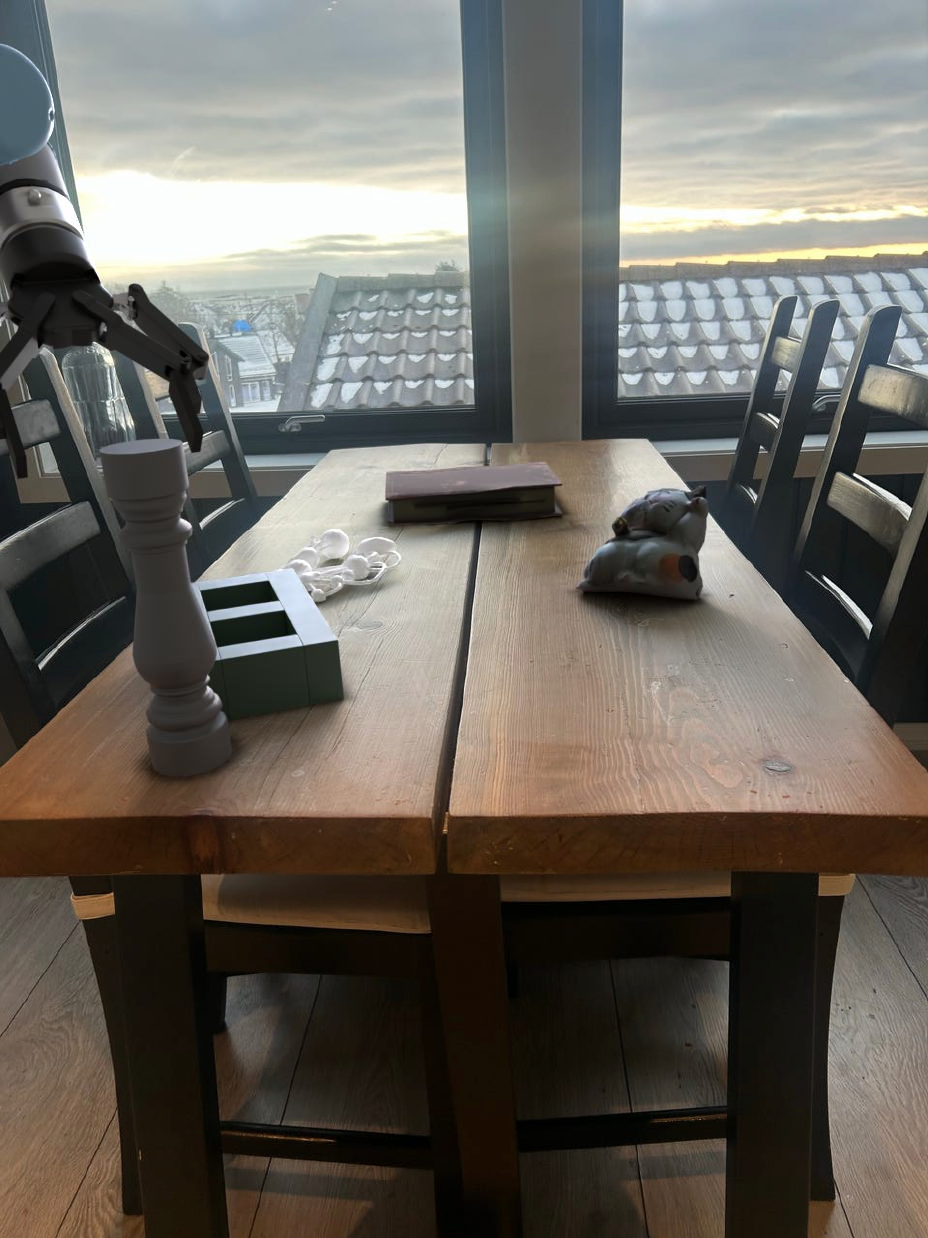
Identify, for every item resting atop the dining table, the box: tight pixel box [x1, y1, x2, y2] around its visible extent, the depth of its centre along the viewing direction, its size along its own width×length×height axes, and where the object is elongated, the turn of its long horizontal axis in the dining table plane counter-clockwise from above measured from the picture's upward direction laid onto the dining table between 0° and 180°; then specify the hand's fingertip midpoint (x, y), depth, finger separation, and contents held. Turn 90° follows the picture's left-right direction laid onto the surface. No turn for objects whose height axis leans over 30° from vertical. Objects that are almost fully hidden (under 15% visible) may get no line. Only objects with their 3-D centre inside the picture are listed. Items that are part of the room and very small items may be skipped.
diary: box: [384, 461, 564, 526], centre depth 149 cm, size 19×25×5 cm
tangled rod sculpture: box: [275, 528, 403, 603], centre depth 119 cm, size 19×14×4 cm
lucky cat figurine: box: [574, 484, 710, 603], centre depth 108 cm, size 15×12×14 cm
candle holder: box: [98, 438, 233, 777], centre depth 74 cm, size 6×6×25 cm
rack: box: [191, 568, 345, 721], centre depth 95 cm, size 13×23×6 cm, turn 19°
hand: (113, 455), depth 79 cm, fingers open, 13 cm apart
